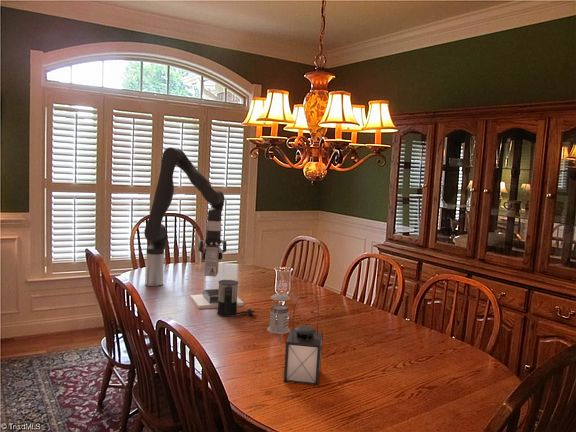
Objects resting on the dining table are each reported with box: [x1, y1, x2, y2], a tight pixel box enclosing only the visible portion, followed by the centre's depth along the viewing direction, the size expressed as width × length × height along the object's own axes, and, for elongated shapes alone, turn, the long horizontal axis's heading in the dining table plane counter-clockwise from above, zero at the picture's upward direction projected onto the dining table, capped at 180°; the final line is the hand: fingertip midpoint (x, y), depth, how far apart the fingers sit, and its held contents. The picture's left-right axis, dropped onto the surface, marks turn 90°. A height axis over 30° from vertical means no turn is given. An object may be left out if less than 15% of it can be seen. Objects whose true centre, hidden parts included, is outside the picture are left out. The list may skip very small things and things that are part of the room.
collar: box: [202, 288, 219, 303], centre depth 229 cm, size 10×14×3 cm
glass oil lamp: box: [266, 270, 291, 335], centre depth 193 cm, size 10×12×25 cm
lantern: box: [283, 292, 324, 386], centre depth 151 cm, size 11×11×28 cm
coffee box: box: [203, 244, 221, 278], centre depth 245 cm, size 9×6×16 cm
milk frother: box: [216, 279, 256, 317], centre depth 211 cm, size 14×16×15 cm
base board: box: [189, 293, 245, 310], centre depth 230 cm, size 22×18×2 cm
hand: (212, 259), depth 245 cm, fingers closed on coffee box, 8 cm apart
